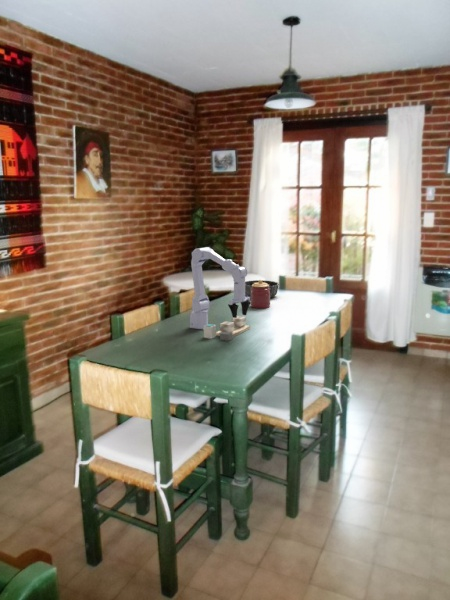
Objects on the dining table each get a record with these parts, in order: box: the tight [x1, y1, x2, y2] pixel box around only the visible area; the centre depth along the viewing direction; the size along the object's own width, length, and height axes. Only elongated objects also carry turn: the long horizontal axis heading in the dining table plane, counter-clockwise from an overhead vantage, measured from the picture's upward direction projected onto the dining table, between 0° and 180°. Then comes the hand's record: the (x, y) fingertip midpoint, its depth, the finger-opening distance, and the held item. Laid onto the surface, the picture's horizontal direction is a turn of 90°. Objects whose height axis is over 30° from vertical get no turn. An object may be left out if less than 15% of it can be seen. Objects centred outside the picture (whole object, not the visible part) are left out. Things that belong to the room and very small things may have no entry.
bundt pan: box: [245, 279, 280, 299], centre depth 354 cm, size 26×26×10 cm
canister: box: [250, 279, 271, 309], centre depth 320 cm, size 13×13×18 cm
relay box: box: [219, 331, 233, 342], centre depth 248 cm, size 5×4×4 cm
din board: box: [216, 315, 251, 339], centre depth 261 cm, size 10×20×6 cm, turn 151°
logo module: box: [203, 323, 217, 339], centre depth 252 cm, size 4×5×6 cm
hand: (239, 316), depth 255 cm, fingers open, 7 cm apart
